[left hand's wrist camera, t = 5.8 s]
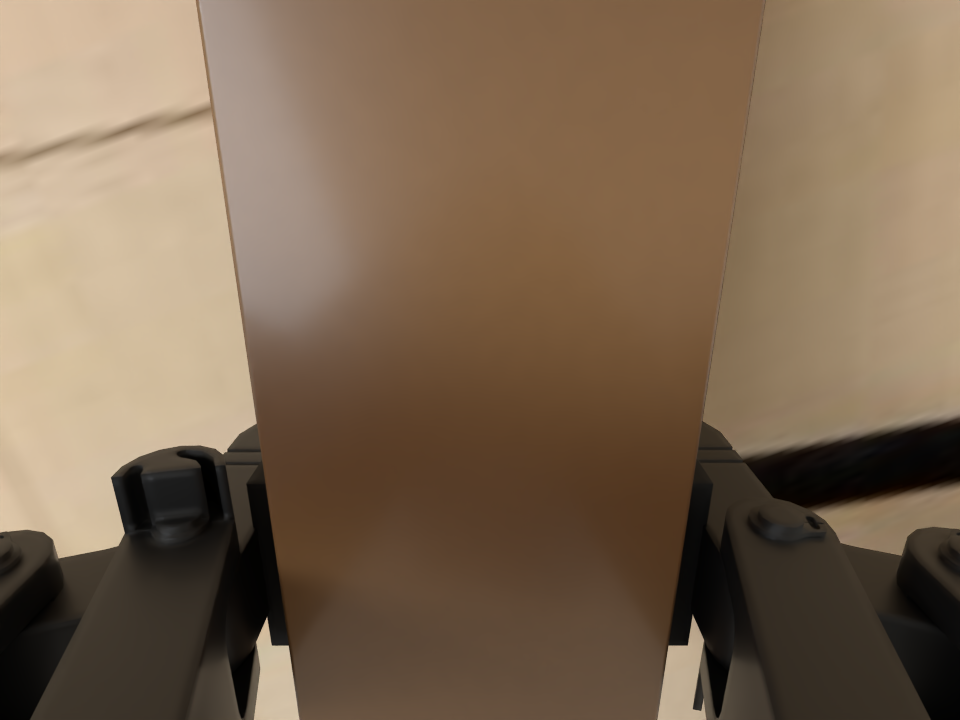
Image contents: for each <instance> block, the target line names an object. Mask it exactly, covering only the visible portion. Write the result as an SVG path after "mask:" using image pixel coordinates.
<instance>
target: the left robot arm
mask: <svg viewBox="0 0 960 720" xmlns="http://www.w3.org/2000/svg"><path fill="white" fill-rule="evenodd" d="M111 479H112V483H113V487H114V491H115V495H116V499H117V503H118V507H119V511H120V515H121V519H122V523H123V527H124V531H125V534H124V536H123V538H122V540H121V542H120V544H119V546H117V547H114V548H110V549H106V550H100V551H95V552H90V553H85V554H80V555H75V556H70V557H65V558H59V559H58V556H57V552H56V549H55V546H54V542H53V539H51V538H50V537H49V536H47V535H46V534H45V533H44V532H37V531H31V530H21V531H11V532H1V533H0V720H254V713H255V705H256V698H257V690H258V682H259V675H260V664H259V656H258V651H257V645H256V641H257V638H258V636H259V634H260V632H261V629H262V627H263V625H264V623H265V620H266V618H268V624H269V630H270V636H271V643H272V645H289V643H288V636H287V629H286V622H285V615H284V608H283V601H282V594H281V587H280V580H279V573H278V566H277V560H276V553H275V546H274V539H273V532H272V525H271V518H270V511H269V504H268V497H267V490H266V483H265V476H264V469H263V462H262V455H261V448H260V442H259V435H258V428H257V424H255V425H254V426H252V427H251V428H249V429H247V430H246V431H244V432H242V433H241V434H239V436H238V437H237V438H236V439H235V441H234V442H233V443H232V444H231V446H230V447H229V448H228V452H225V453H224V454H221V453H220V452H219V451H217V450H216V449H213V448H208V447H204V446H178V447H173V448H167V449H162V450H158V451H155V452H152V453H149V454H146V455H144V456H141V457H138V458H136V459H135V460H133V461H131V462H129V463H128V464H126V465H124V466H122V467H121V468H120V469H119V470H118V471H117V472H116V473H115V474H114V475H113V476H112V477H111ZM692 615H693V616H694V618H695V620H696V623H697V625H698V627H699V629H700V632H701V634H702V636H703V638H704V645H703V651H702V656H701V662H700V668H699V674H698V680H697V686H696V691H695V698H694V705H693V709H695V710H700V711H701V709H702V704H703V698H704V704H705V712H706V720H960V530H959V529H948V528H938V527H930V528H924V529H917V530H916V531H914V532H913V533H912V534H910V535H909V536H908V537H907V541H906V544H905V547H904V551H903V554H902V556H899V555H894V554H889V553H884V552H879V551H874V550H869V549H863V548H858V547H853V546H849V545H845V544H842V543H840V541H839V539H838V537H837V535H836V533H835V532H834V531H833V529H832V528H831V527H830V526H829V525H828V523H827V522H826V521H825V520H824V519H822V518H821V517H819V516H818V515H816V514H815V513H813V512H812V511H810V510H808V509H806V508H803V507H801V506H798V505H796V504H794V503H791V502H788V501H783V500H779V499H774V498H773V497H772V496H771V495H770V493H769V492H768V491H767V490H766V488H765V487H764V486H763V485H762V483H761V482H760V481H759V480H758V478H757V477H756V476H755V475H754V473H753V472H752V471H751V470H750V468H749V467H748V466H747V465H746V463H743V462H742V458H741V457H740V456H739V455H738V453H737V452H736V451H735V450H733V449H732V446H731V445H730V443H729V442H728V441H727V440H726V438H725V437H724V436H723V435H722V433H721V432H719V431H718V430H716V429H714V428H713V427H711V426H710V425H708V424H706V423H705V422H703V421H702V426H701V432H700V439H699V446H698V452H697V459H696V465H695V472H694V479H693V485H692V492H691V499H690V505H689V512H688V519H687V525H686V532H685V538H684V545H683V552H682V558H681V565H680V572H679V578H678V585H677V592H676V598H675V605H674V611H673V618H672V625H671V631H670V638H669V645H688V640H689V634H690V628H691V621H692Z"/></svg>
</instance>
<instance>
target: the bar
mask: <svg viewBox="0 0 960 720" xmlns="http://www.w3.org/2000/svg"><path fill="white" fill-rule="evenodd" d="M765 1H766V0H196V4H197V11H198V18H199V25H200V32H201V39H202V46H203V53H204V60H205V67H206V74H207V81H208V88H209V95H210V101H211V108H212V115H213V122H214V129H215V136H216V143H217V150H218V157H219V164H220V171H221V178H222V185H223V192H224V199H225V206H226V213H227V219H228V226H229V233H230V240H231V247H232V254H233V261H234V268H235V275H236V282H237V289H238V296H239V303H240V310H241V317H242V324H243V331H244V337H245V344H246V351H247V358H248V365H249V372H250V379H251V386H252V393H253V400H254V407H255V414H256V421H257V428H258V435H259V442H260V448H261V455H262V462H263V469H264V476H265V483H266V490H267V497H268V504H269V511H270V518H271V525H272V532H273V539H274V546H275V553H276V560H277V566H278V573H279V580H280V587H281V594H282V601H283V608H284V615H285V622H286V629H287V636H288V643H289V650H290V657H291V664H292V671H293V678H294V684H295V691H296V698H297V705H298V712H299V719H300V720H657V718H658V711H659V704H660V698H661V691H662V684H663V678H664V671H665V664H666V658H667V651H668V645H669V638H670V631H671V625H672V618H673V611H674V605H675V598H676V592H677V585H678V578H679V572H680V565H681V558H682V552H683V545H684V538H685V532H686V525H687V519H688V512H689V505H690V499H691V492H692V485H693V479H694V472H695V465H696V459H697V452H698V446H699V439H700V432H701V426H702V419H703V412H704V406H705V399H706V393H707V386H708V379H709V373H710V366H711V359H712V353H713V346H714V339H715V333H716V326H717V320H718V313H719V306H720V300H721V293H722V286H723V280H724V273H725V267H726V260H727V253H728V247H729V240H730V233H731V227H732V220H733V213H734V207H735V200H736V194H737V187H738V180H739V174H740V167H741V160H742V154H743V147H744V140H745V134H746V127H747V121H748V114H749V107H750V101H751V94H752V87H753V81H754V74H755V68H756V61H757V54H758V48H759V41H760V34H761V28H762V21H763V14H764V8H765Z"/></svg>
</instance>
